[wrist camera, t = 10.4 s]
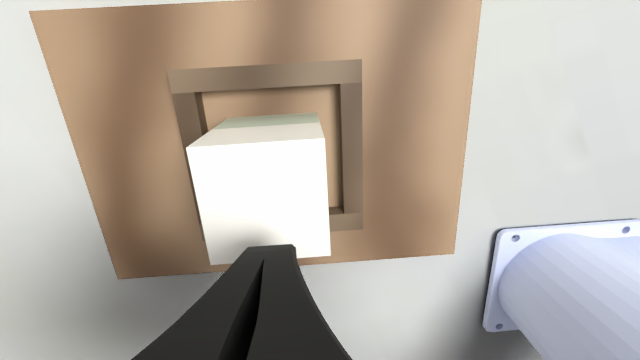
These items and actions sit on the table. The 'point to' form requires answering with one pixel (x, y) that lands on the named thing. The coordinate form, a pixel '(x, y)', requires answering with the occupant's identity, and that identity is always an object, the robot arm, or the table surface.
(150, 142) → the brown wooden board
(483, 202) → the table surface
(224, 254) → the cream rectangular block
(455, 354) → the table surface
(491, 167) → the table surface
